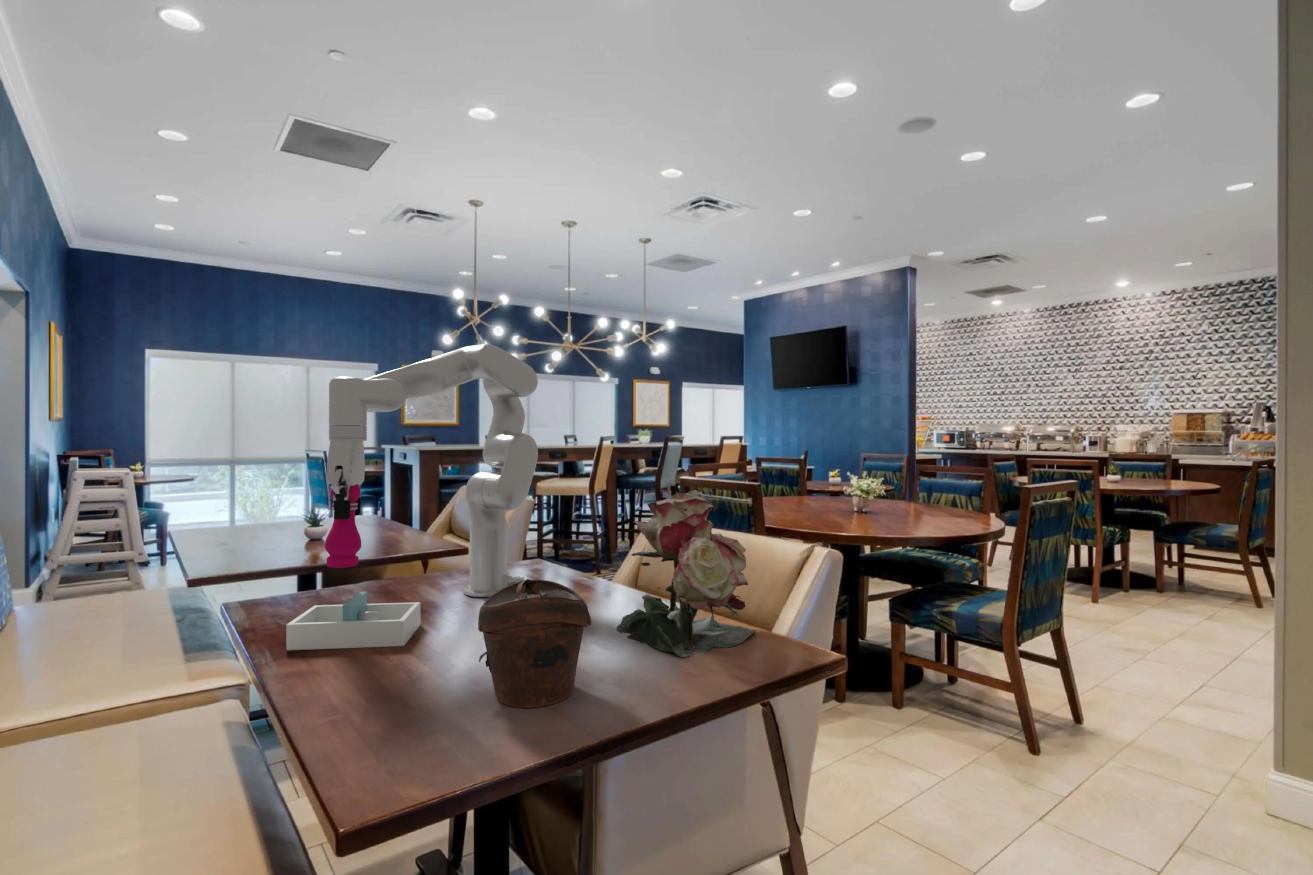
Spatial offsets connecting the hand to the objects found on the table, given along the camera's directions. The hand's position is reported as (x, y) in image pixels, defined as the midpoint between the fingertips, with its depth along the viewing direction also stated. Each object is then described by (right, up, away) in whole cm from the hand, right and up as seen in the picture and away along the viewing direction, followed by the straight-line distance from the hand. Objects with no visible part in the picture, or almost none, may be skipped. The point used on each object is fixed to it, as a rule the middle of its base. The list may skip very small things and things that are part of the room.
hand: (347, 516), depth 145 cm
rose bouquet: (+75, -24, -5) cm, 79 cm away
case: (+47, -25, -36) cm, 64 cm away
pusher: (+7, -23, -7) cm, 25 cm away
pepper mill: (-1, -11, -1) cm, 11 cm away
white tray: (+5, -24, -7) cm, 26 cm away
